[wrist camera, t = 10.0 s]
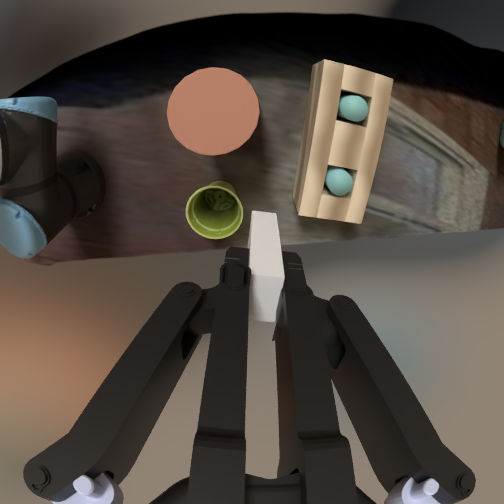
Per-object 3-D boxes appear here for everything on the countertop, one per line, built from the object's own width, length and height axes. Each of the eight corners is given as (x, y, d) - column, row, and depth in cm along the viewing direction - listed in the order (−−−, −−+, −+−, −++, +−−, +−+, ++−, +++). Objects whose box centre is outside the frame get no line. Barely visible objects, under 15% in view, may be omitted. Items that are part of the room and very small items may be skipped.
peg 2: (316, 178, 49) (326, 193, 42) (320, 157, 47) (331, 169, 40) (337, 181, 49) (349, 197, 42) (341, 161, 47) (355, 173, 40)
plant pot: (187, 184, 52) (175, 200, 44) (232, 163, 49) (227, 176, 42) (209, 224, 56) (202, 246, 49) (253, 206, 54) (252, 226, 46)
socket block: (292, 195, 52) (298, 215, 45) (312, 65, 39) (324, 59, 32) (346, 203, 53) (360, 223, 45) (371, 79, 40) (393, 79, 32)
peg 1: (327, 114, 43) (340, 118, 36) (331, 92, 41) (344, 92, 34) (349, 119, 43) (365, 124, 36) (353, 97, 41) (370, 99, 34)
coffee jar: (271, 100, 43) (279, 102, 28) (234, 146, 48) (222, 173, 32) (221, 65, 40) (202, 50, 25) (185, 113, 44) (149, 124, 29)
